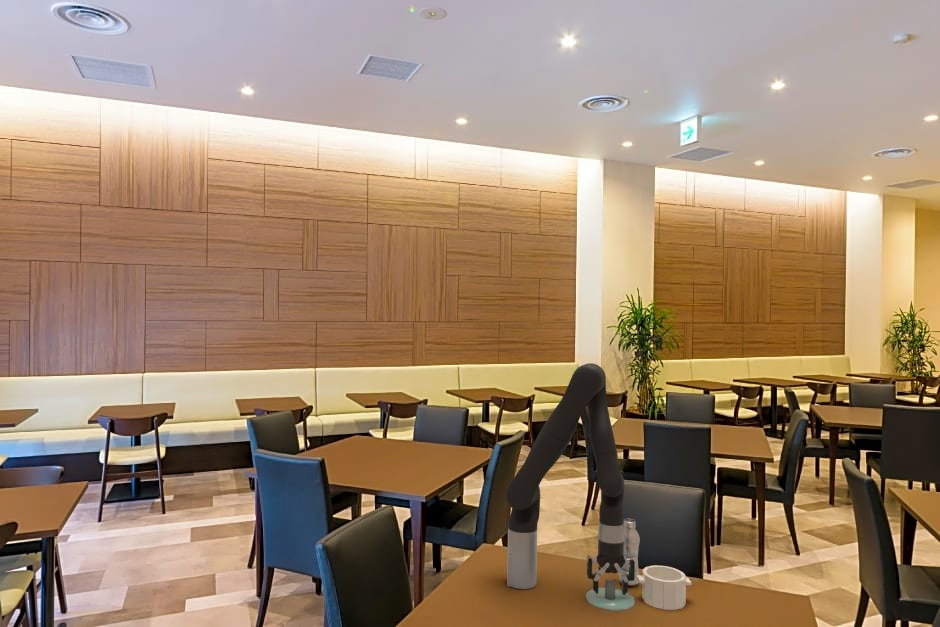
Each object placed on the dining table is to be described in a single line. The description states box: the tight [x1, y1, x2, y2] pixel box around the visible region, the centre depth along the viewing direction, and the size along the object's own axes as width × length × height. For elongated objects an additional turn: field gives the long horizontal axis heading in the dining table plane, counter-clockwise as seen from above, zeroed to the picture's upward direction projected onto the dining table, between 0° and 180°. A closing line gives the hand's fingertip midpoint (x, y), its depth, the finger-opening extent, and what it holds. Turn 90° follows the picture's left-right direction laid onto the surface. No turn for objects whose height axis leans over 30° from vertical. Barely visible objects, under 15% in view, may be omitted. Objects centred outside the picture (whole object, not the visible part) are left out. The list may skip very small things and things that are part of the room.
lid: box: [585, 578, 635, 612], centre depth 182 cm, size 14×14×6 cm
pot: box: [637, 564, 693, 611], centre depth 182 cm, size 15×12×8 cm
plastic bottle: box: [618, 518, 641, 587], centre depth 193 cm, size 6×7×20 cm
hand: (610, 593), depth 182 cm, fingers open, 7 cm apart
